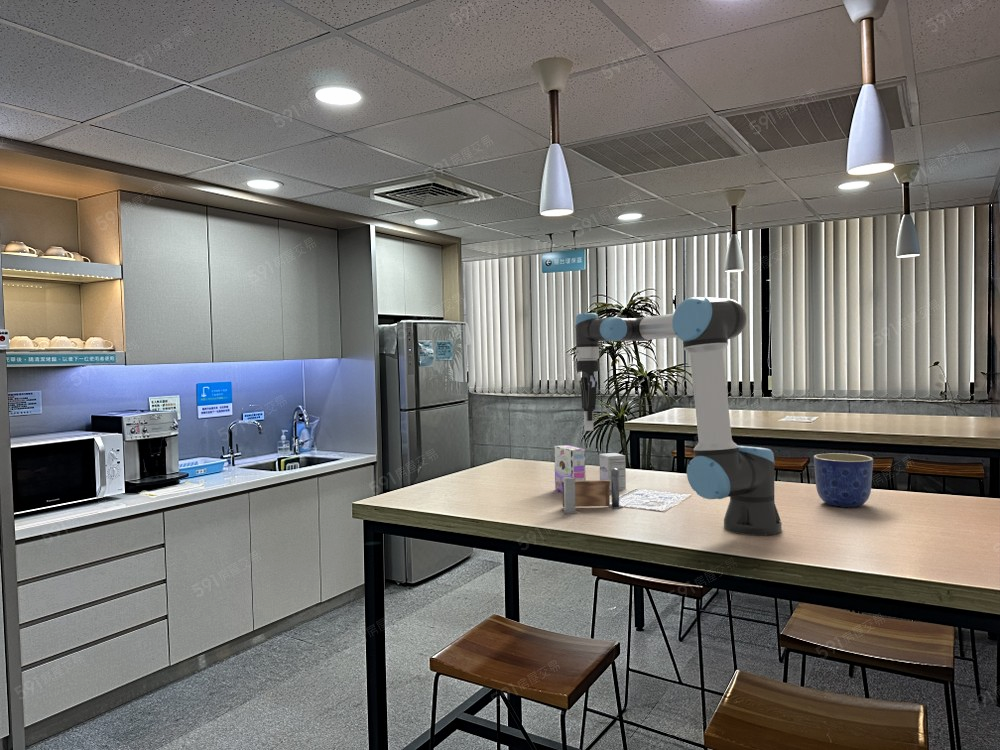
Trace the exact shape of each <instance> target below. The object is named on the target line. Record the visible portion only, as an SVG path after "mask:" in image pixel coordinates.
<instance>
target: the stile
mask: <svg viewBox="0 0 1000 750" xmlns="http://www.w3.org/2000/svg"><path fill="white" fill-rule="evenodd" d="M563 480H564V507H563V509H561V512H562V513H563V514H565V515H570V514H571V515H572V514H579V511H578V510H577V508H576V507H575V481H576V478H574V477H563Z"/></svg>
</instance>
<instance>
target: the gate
mask: <svg viewBox="0 0 1000 750" xmlns="http://www.w3.org/2000/svg"><path fill="white" fill-rule="evenodd" d="M609 485H610V481H609V480H600V479H595V480H594V479H593V480H591V479H590V480H586V481H575V508H577V507H578V508H579V507H580V508H581V507H582V508H583V507H587V508H588V507H609V506H610V505H611V504H610V503H611V501H610V500H611V499H610V494H611V493H610V491H609ZM562 489H563V492H562V507H563V508H564V481H562Z"/></svg>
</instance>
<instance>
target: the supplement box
mask: <svg viewBox="0 0 1000 750" xmlns="http://www.w3.org/2000/svg"><path fill="white" fill-rule="evenodd" d="M626 462H627V461H626V455H624V454H620V453H618V452H609V453H608V452H607V453H599V480H609V481H610V485H609V492H610V491H611V492H612V489H611V470H612V469H614V468H616V469H618V470H619V491H621V490H626V489H627V485H626V484H627V482H626V480H627V478H626V477H627V473H626V470H627V469H626V465H627V464H626Z"/></svg>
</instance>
